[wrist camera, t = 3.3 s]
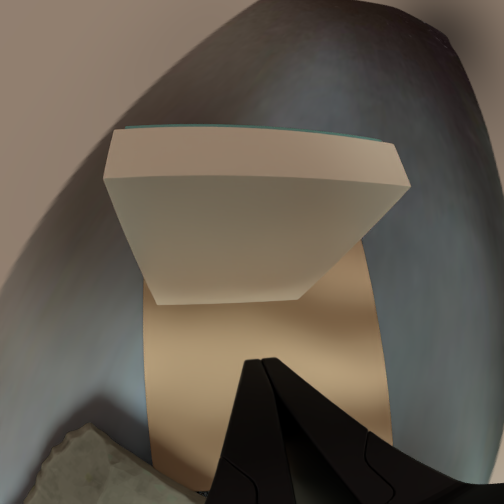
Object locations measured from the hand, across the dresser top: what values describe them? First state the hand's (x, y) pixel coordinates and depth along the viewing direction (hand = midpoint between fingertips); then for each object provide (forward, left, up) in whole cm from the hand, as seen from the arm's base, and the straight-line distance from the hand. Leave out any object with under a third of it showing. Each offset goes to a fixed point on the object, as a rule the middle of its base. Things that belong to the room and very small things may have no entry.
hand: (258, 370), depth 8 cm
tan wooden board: (-2, -3, -7) cm, 8 cm away
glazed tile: (0, -4, -7) cm, 8 cm away
